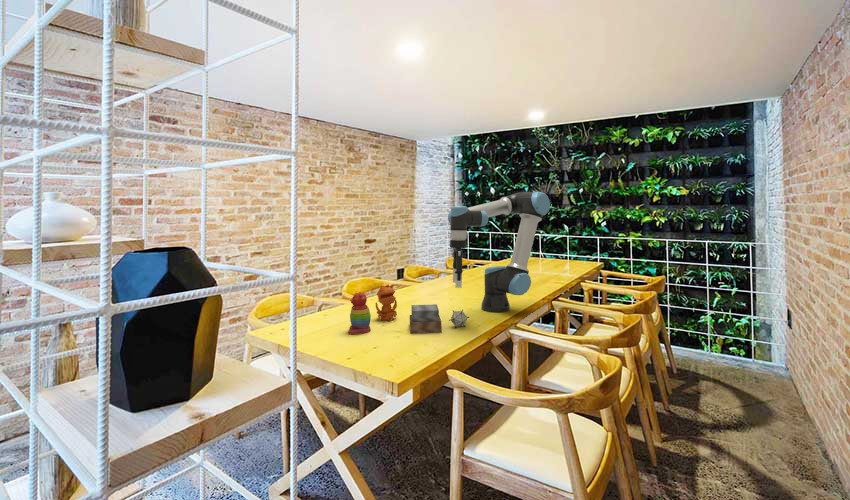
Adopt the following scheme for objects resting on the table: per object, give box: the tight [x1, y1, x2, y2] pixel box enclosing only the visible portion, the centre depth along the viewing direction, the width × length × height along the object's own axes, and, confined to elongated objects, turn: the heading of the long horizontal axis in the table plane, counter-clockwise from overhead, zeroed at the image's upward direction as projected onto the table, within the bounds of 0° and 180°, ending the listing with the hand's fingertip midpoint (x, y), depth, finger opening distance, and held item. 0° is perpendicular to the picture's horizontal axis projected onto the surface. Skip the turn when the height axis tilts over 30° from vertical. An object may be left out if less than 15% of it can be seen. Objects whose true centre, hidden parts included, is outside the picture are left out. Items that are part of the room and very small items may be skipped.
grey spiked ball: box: [448, 309, 470, 329], centre depth 203 cm, size 9×8×10 cm
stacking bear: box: [347, 291, 372, 336], centre depth 199 cm, size 11×10×18 cm
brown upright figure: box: [375, 284, 398, 322], centre depth 217 cm, size 11×11×18 cm
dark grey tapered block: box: [409, 303, 442, 334], centre depth 201 cm, size 14×13×10 cm
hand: (457, 285), depth 202 cm, fingers open, 13 cm apart
